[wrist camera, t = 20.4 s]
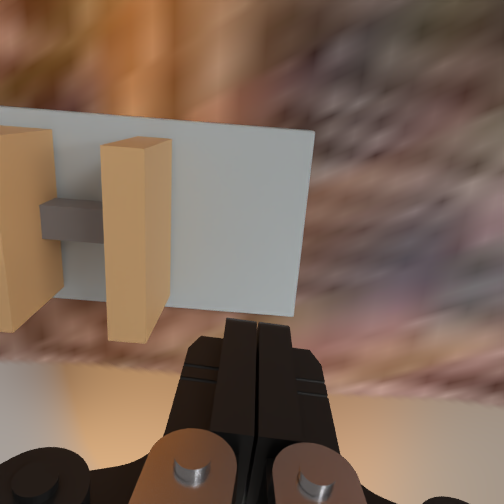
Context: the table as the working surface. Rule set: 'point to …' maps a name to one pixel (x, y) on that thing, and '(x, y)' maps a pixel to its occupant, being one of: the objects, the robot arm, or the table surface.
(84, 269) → the vise base
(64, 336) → the table surface
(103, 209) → the sliding jaw
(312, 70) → the table surface
